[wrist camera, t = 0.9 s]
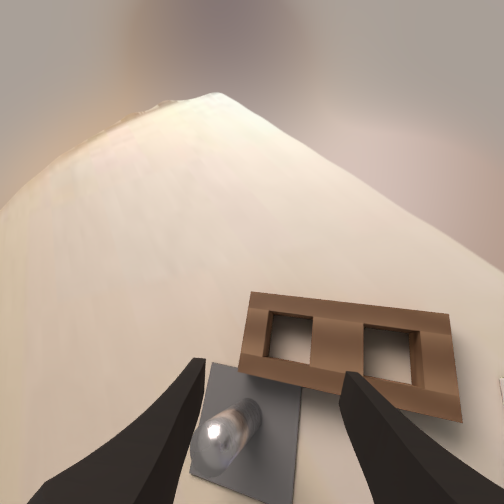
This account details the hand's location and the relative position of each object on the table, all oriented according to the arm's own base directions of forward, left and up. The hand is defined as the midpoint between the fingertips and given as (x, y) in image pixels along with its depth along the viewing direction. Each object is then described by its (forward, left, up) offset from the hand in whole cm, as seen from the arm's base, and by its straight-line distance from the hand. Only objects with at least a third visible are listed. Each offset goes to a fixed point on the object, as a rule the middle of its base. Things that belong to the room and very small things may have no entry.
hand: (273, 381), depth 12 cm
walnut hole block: (+3, -4, -14) cm, 15 cm away
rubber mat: (-6, +4, -14) cm, 16 cm away
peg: (-5, +4, -14) cm, 15 cm away
